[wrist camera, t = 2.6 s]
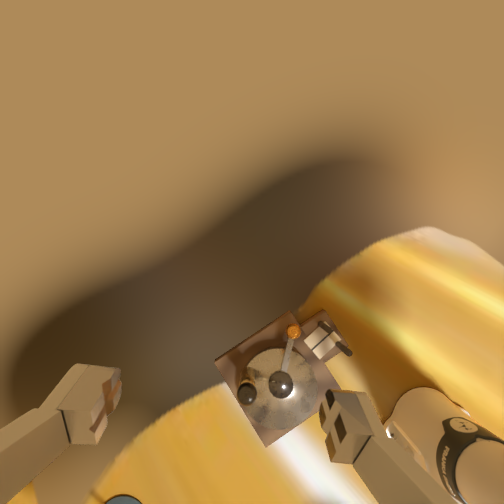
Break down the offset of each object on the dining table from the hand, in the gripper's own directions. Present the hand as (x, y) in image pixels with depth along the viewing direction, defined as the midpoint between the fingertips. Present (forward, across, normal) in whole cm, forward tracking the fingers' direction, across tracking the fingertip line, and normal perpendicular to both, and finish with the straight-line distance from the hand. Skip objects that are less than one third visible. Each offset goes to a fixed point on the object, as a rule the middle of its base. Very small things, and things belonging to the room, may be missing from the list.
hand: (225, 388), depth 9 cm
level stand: (+31, +16, -34) cm, 49 cm away
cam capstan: (+29, +13, -34) cm, 46 cm away
